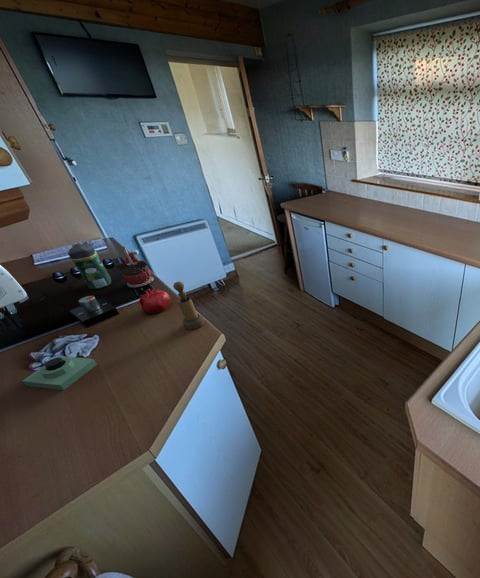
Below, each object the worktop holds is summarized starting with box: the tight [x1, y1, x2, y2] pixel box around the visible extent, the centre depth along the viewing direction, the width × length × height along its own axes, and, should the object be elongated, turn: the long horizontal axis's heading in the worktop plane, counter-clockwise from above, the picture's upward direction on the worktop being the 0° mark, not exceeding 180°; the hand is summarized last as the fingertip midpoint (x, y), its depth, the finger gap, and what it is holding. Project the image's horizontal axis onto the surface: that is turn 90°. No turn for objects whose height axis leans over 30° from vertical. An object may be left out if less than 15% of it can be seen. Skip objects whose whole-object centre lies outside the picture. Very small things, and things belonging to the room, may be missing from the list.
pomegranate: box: [138, 288, 171, 314], centre depth 114 cm, size 10×10×9 cm
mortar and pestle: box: [172, 281, 205, 331], centre depth 103 cm, size 7×6×18 cm
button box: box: [21, 355, 98, 391], centre depth 86 cm, size 12×10×4 cm
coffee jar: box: [67, 242, 112, 290], centre depth 126 cm, size 10×8×19 cm
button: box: [43, 357, 65, 371], centre depth 85 cm, size 4×4×2 cm
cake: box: [115, 246, 155, 289], centre depth 128 cm, size 11×9×18 cm
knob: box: [78, 295, 100, 312], centre depth 109 cm, size 4×4×5 cm
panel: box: [69, 298, 120, 329], centre depth 111 cm, size 12×10×3 cm
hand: (15, 326), depth 78 cm, fingers closed
